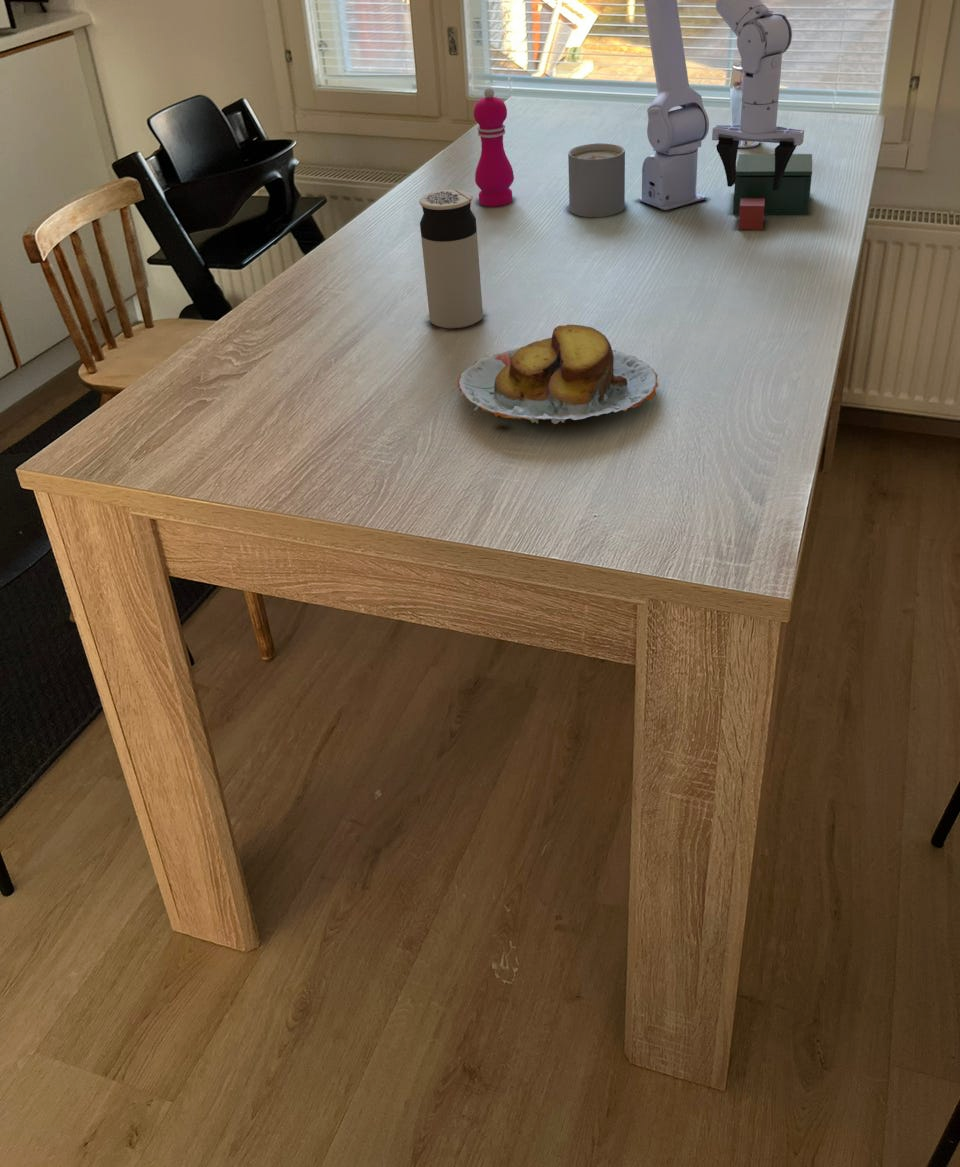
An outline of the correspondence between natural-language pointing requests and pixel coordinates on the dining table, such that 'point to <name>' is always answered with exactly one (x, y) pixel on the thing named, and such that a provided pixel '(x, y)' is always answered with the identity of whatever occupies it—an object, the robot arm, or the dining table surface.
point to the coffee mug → (596, 180)
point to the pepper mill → (492, 152)
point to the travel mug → (451, 259)
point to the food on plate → (559, 378)
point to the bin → (775, 193)
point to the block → (751, 213)
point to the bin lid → (773, 165)
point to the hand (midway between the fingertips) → (753, 186)
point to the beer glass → (738, 100)
